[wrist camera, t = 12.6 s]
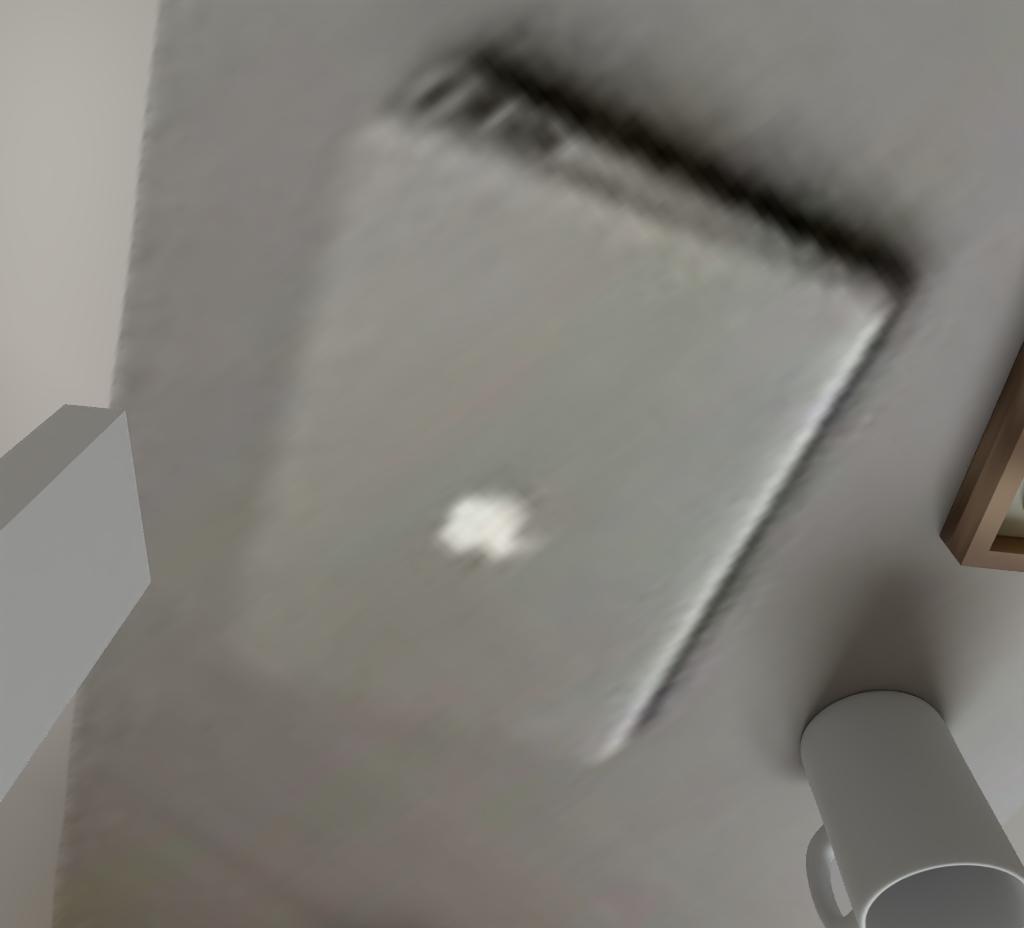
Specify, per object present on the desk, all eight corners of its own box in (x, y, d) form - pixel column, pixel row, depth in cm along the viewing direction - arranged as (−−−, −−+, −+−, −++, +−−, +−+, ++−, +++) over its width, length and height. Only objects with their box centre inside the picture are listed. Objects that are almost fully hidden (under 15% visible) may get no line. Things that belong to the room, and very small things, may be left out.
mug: (859, 668, 47) (940, 838, 37) (975, 721, 49) (1080, 897, 39) (737, 791, 52) (780, 967, 43) (844, 835, 54) (909, 1014, 44)
